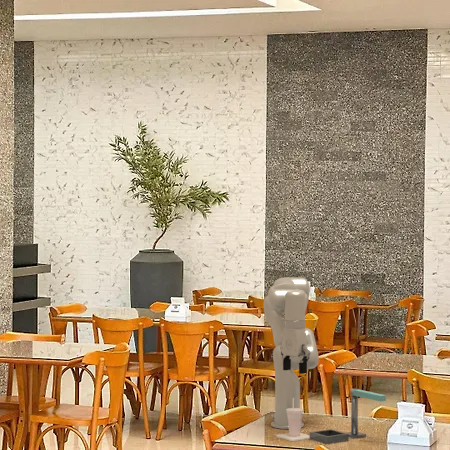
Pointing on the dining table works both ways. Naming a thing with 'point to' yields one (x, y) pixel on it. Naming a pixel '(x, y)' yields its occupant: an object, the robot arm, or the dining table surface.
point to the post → (354, 419)
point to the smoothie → (294, 420)
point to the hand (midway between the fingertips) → (294, 371)
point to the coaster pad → (289, 438)
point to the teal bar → (368, 395)
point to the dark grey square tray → (329, 436)
